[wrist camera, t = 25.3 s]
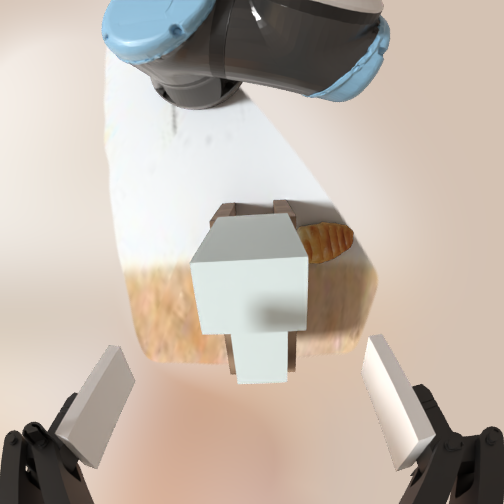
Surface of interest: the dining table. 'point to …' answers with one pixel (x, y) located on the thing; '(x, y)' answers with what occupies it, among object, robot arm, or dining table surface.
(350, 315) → the dining table surface
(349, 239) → the pastry
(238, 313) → the white stepped block
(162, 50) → the robot arm
